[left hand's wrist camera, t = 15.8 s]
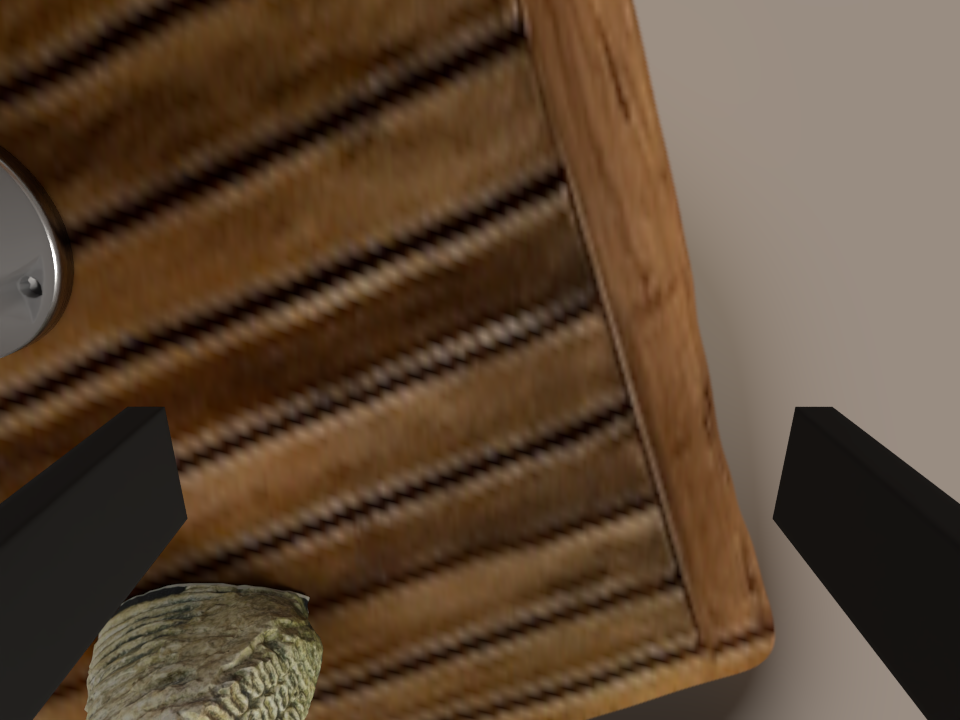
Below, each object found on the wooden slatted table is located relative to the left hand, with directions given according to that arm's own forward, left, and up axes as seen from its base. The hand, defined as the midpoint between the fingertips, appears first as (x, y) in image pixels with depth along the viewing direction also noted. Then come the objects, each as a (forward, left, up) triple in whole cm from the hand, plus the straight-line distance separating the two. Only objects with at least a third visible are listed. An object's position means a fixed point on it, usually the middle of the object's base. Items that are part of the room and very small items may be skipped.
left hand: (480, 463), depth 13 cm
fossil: (-32, -19, -28) cm, 46 cm away
